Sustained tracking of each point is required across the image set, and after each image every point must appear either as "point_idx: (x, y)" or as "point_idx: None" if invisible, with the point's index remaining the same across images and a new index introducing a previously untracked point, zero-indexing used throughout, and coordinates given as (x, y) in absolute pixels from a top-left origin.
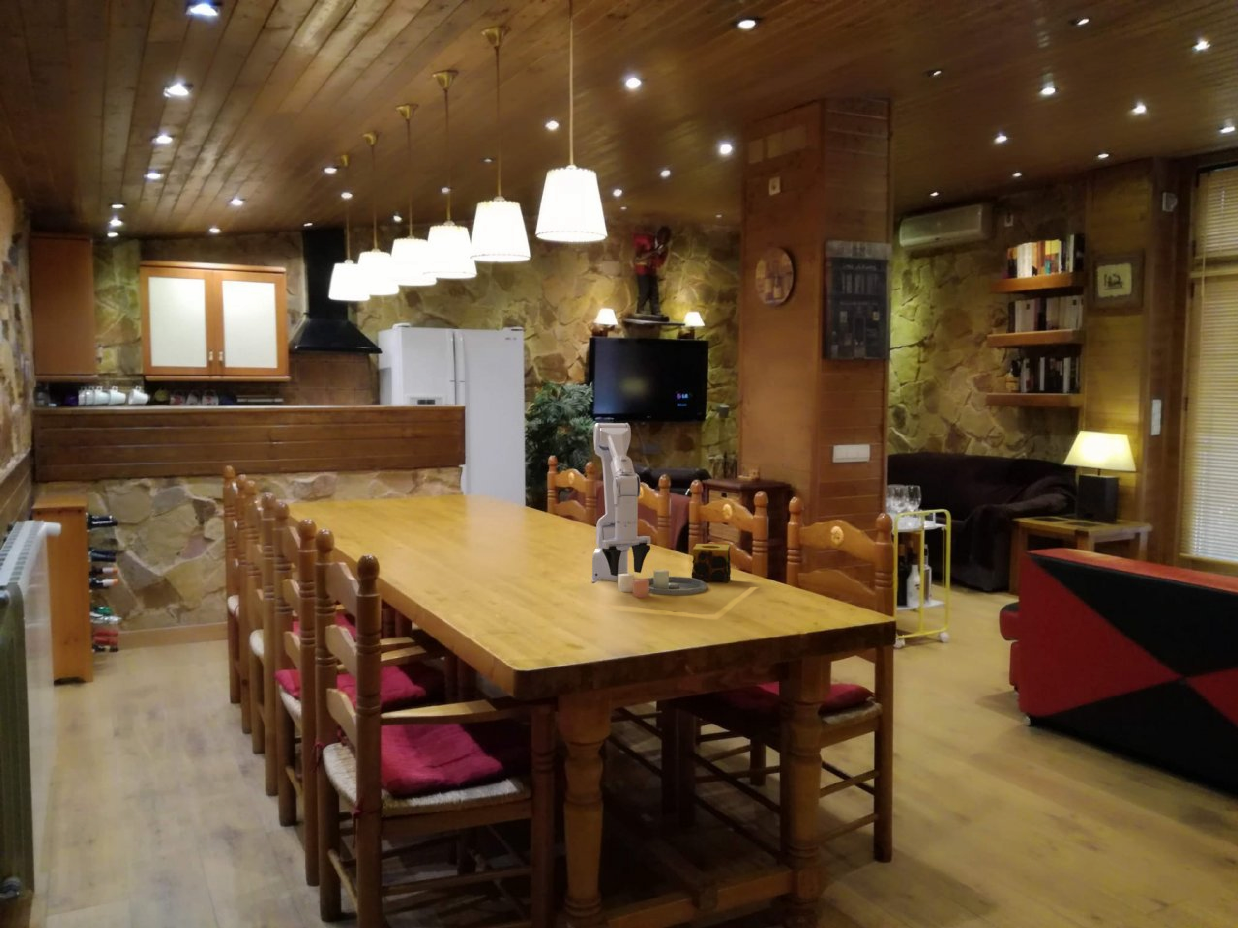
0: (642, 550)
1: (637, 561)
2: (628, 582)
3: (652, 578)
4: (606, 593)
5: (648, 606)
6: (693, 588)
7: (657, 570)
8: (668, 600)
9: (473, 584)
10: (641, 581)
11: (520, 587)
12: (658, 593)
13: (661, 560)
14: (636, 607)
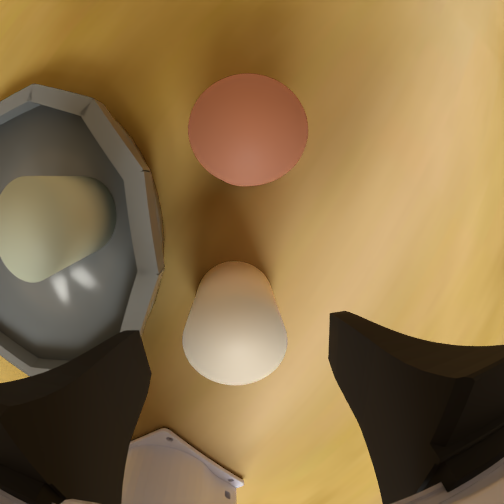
0: (41, 414)
1: (117, 398)
2: (246, 283)
3: None
4: (303, 346)
5: (285, 33)
6: (5, 106)
7: (32, 271)
8: (134, 84)
9: None
10: (262, 100)
11: None
12: (132, 147)
13: None
14: (340, 48)
